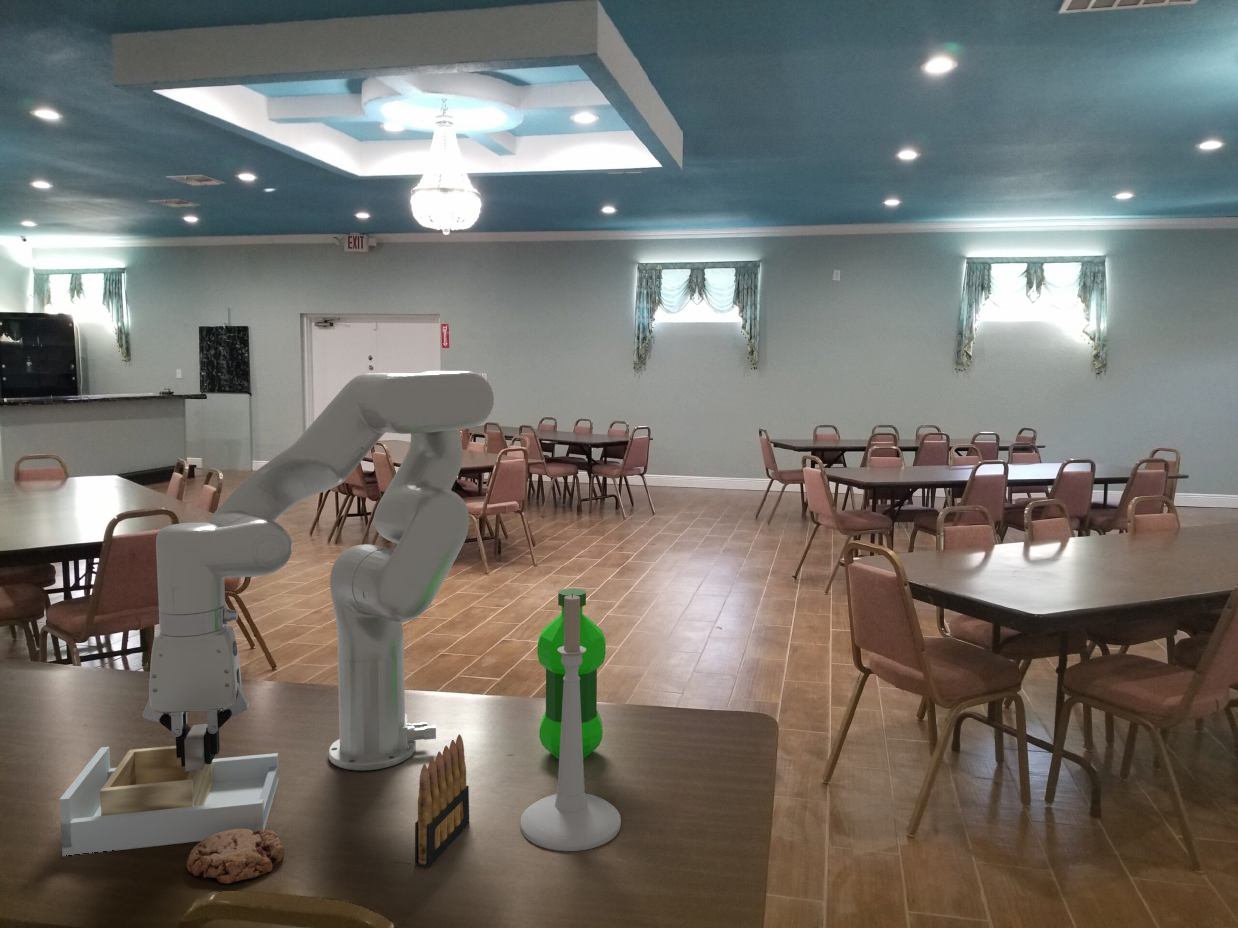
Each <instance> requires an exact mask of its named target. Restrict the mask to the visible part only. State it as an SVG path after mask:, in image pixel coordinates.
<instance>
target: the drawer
mask: <svg viewBox="0 0 1238 928" xmlns="http://www.w3.org/2000/svg"><path fill="white" fill-rule="evenodd" d="M206 728H207V723H200V724H198V723H197V724H193V725H192V726H191V727H190V729H191V730H190V732H189V733H188V735H187V737H186V739H185V740H184V744H185V766H184V767H182V766H181V758H177V756H176V745H171V746H170V745H169V746H168V745H167V746H159V747H148V748H146V747H145V748H144V747H143V748H135V749H129V750H128V751H127V752H126V754H125V755H124V757H123V758H122V760H121V761H120V762H119V764H118V765H117V767H115V768H116V769H115V771H114V772H113V774H112V775H111V776H110V778H109V779H108V781H107V782H106V783H105V785H104V786H103V788H102V789H101V790H100V802H101V816H105V815H115V814H125V813H134V812H144V811H154V810H163V809H173V808H183V807H193V806H202V805H204V803H205V801H206V798H207V796H208V794H209V792H210V789H211V787H212V785H213V768H212V763H211V764H206V763H205V761H204V734H205V732H206Z"/></svg>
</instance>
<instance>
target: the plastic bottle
mask: <svg viewBox="0 0 1238 928" xmlns="http://www.w3.org/2000/svg"><path fill="white" fill-rule="evenodd" d="M557 594H558V595H557V599H558V600H557V606H560V607H561V613H560V615H558V616H556V617H555V618H554V619H553V620H551V621H550V622H549V623H548V624H547V625H546V626H545V627H544V628H542V630H541V631H540V634H539V637H538V641H537V658H538V662H539V664H540V665H541V666H542V667H543V668H544V669H545V712H544V713H543V715H542V717H541V719H540V725H539V736H538V737H539V740H540V743H541V745H542V746H543V747H544V749H545V750H546V751H548V752H549V753H550V754H552V755H553V757H554V758H556V759H557V760H559V756H560V738H561V721H562V703H563V686H564V680H563V678H564V676H565V673H566V672H565V668H564V667H565V666H564V665H563V664H562V663H561V659H562V655H561V653H560V652H558V650H557V649H558V648H559V647H562V646H564V597H565V596H571V595H572V594H573V595H574V596H579V597H580V646H582V647H585V648H586V651H585V652H584V653H583V654H582V663H581V665H579V669H578V675H579V677H580V702H581V724H582V746H583V760H584V759H586V758H588V756H589V755H590V754H591V753H592V752H594V751H595V750H596V749H598V747H599V746H600V744H601V743H602V739H603V720H602V717H601V716H600V714H599V711H598V709H597V706H598V705H597V701H598V700H597V699H598V698H597V696H598V695H597V694H598V693H597V691H598V690H597V689H598V687H597V686H598V669H599V668H600V667H601V666H602V665H603V664H604V662H605V658H606V652H607V651H606V649H607V643H606V637H605V634H604V632H603V630H602V629H601V628H600V627H599V626H598V625H597V624H596V623H595V622H593V621H592V619H590V618H588V617H587V616H586V615H585V614H584V613H583V607H585V606H586V605H587V591H586V590H584V589H581V588H564V589H560V590H558V593H557Z"/></svg>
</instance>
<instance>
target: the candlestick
mask: <svg viewBox="0 0 1238 928" xmlns="http://www.w3.org/2000/svg"><path fill="white" fill-rule="evenodd" d="M557 650H558V652H560V653H561V655H562V659H561V663H562V664H563V665H564V666H565V667H564V668H565V672H566V673H565V676H564V678H563V680H564V686H563V703H562V721H561V738H560V756H559V759H558V775H557V776H558V777H557V787H556V791H557V792H556V793H555V794H552V795H548V796H544V797H543V798H540V799H538V800H537V801H534V803H532V804H531V805H529V806H528V807H527V808H526V809H525V810H524V811H523V812H522V815H521V817H520V819H519V820H520V823H519V824H520V831H521V834H522V835H523V836H524V838H526V840H528V841H529V842H530V843H532V844H534V845H536V846H539V847H542V848H544V849H548V850H553V851H558V852H560V851H561V852H577V851H585V850H590V849H594V848H596V847H600V846H603V845H605V844H607V843H608V842H610V841H611V840H613V839H614V838H615V837H616V836H617V835H618V834H619V832H620V830H621V827H622V826H621V825H622V818H621V817H622V816H621V814H620V812H619V811H618V809H617V808H616V807H615V806H614V805H612V804H611V803H610V802H608V801H607V800H605V799H603V798H601V797H600V796H596V795H594V794H589V793H585V790H586V787H585V771H584V759H583V746H582V724H581V702H580V677H579V675H578V669H579V665H581V663H582V654H583V653H584V652H585V651H586V648H585V647H582V646H580V597H579V596H574V595H573V594H572V595H571V596H565V597H564V646H562V647H559V648H558V649H557Z"/></svg>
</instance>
